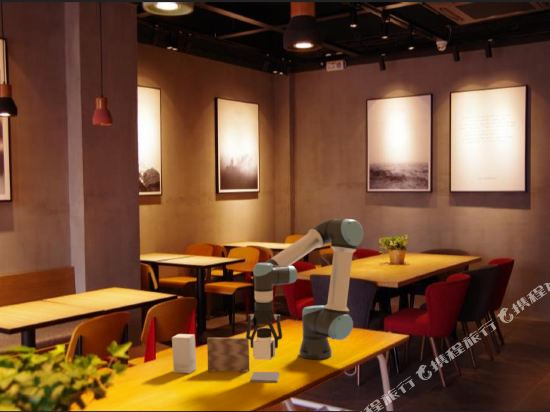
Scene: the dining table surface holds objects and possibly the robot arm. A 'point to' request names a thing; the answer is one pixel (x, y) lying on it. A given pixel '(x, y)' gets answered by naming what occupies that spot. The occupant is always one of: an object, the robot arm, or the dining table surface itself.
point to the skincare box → (184, 353)
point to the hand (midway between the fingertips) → (264, 355)
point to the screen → (228, 354)
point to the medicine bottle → (263, 344)
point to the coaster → (264, 377)
